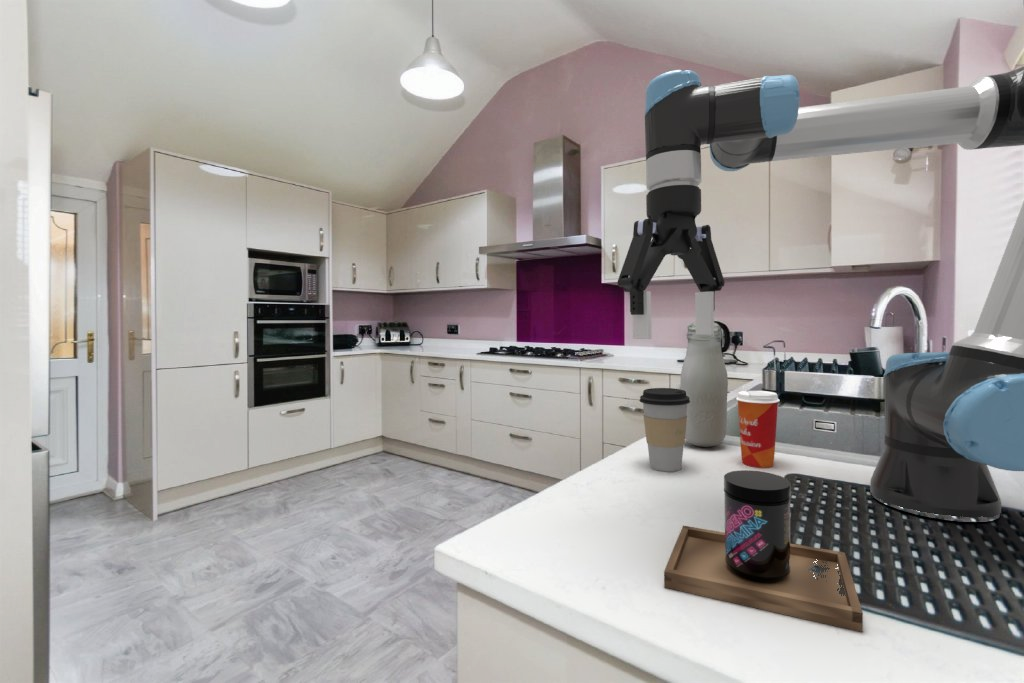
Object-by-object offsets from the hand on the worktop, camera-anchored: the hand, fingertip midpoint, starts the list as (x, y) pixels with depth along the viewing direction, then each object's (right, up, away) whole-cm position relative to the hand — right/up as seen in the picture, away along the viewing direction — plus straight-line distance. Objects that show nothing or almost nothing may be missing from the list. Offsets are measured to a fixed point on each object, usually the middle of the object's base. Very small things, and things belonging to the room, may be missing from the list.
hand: (675, 336), depth 72 cm
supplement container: (+4, -27, -16) cm, 31 cm away
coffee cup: (+6, -25, +25) cm, 36 cm away
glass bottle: (+19, -24, +39) cm, 50 cm away
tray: (+4, -27, -16) cm, 32 cm away
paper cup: (+25, -25, +25) cm, 43 cm away
